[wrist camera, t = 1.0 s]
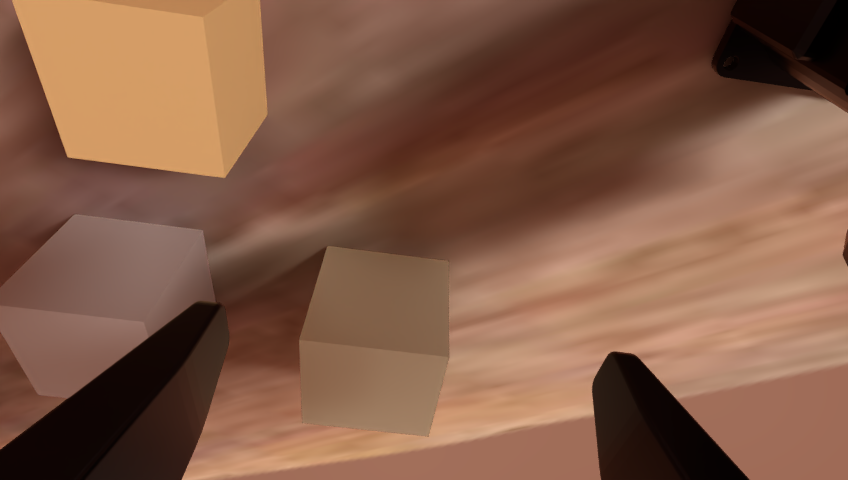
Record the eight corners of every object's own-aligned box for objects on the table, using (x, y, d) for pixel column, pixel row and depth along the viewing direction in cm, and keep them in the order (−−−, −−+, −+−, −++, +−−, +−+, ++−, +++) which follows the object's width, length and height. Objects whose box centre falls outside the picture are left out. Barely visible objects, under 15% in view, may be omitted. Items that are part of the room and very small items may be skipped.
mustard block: (259, -22, 17) (203, 17, 13) (268, 113, 20) (225, 177, 16) (110, -45, 17) (7, -12, 13) (142, 96, 20) (67, 157, 16)
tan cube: (448, 259, 25) (449, 357, 20) (431, 338, 28) (428, 436, 24) (327, 244, 24) (298, 339, 20) (326, 326, 28) (301, 423, 23)
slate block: (203, 229, 24) (143, 321, 19) (218, 314, 28) (171, 409, 23) (75, 212, 24) (-17, 303, 19) (108, 301, 27) (38, 395, 23)
